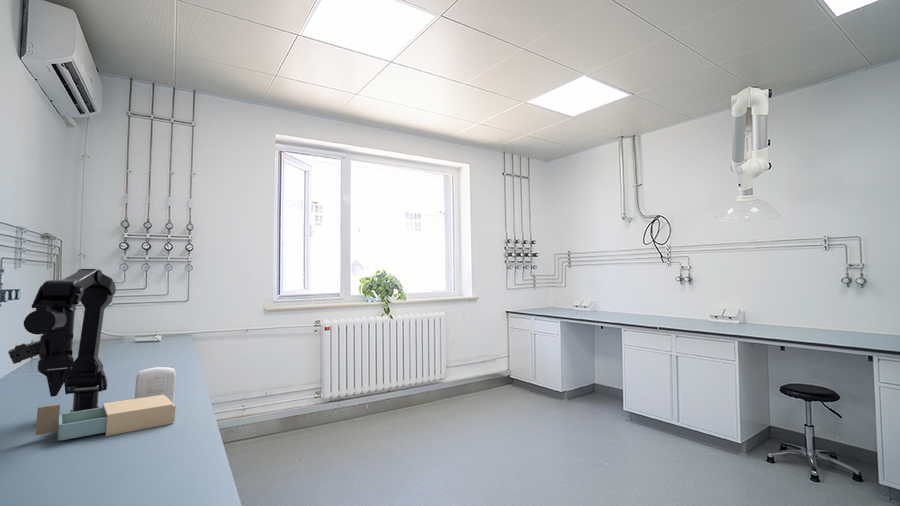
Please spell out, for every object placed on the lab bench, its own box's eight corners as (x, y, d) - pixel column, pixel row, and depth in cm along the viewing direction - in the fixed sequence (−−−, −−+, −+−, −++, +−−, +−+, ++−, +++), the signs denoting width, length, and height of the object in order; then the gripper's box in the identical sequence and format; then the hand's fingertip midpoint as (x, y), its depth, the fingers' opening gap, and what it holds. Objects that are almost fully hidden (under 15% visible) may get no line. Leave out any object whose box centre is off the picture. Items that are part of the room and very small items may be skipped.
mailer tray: (36, 431, 106) (38, 402, 106) (125, 416, 118) (127, 390, 119) (34, 445, 97) (36, 413, 98) (130, 427, 109) (132, 399, 110)
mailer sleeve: (101, 422, 115) (103, 403, 116) (164, 411, 125) (165, 394, 126) (106, 435, 105) (107, 414, 106) (174, 423, 115) (175, 403, 116)
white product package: (174, 403, 134) (176, 364, 135) (174, 407, 130) (176, 366, 131) (134, 408, 128) (136, 368, 129) (133, 412, 125) (135, 370, 126)
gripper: (15, 329, 107) (10, 390, 106) (9, 336, 94) (3, 407, 93) (73, 326, 115) (69, 383, 114) (75, 332, 101) (71, 398, 100)
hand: (53, 392), depth 105 cm, fingers open, 9 cm apart
